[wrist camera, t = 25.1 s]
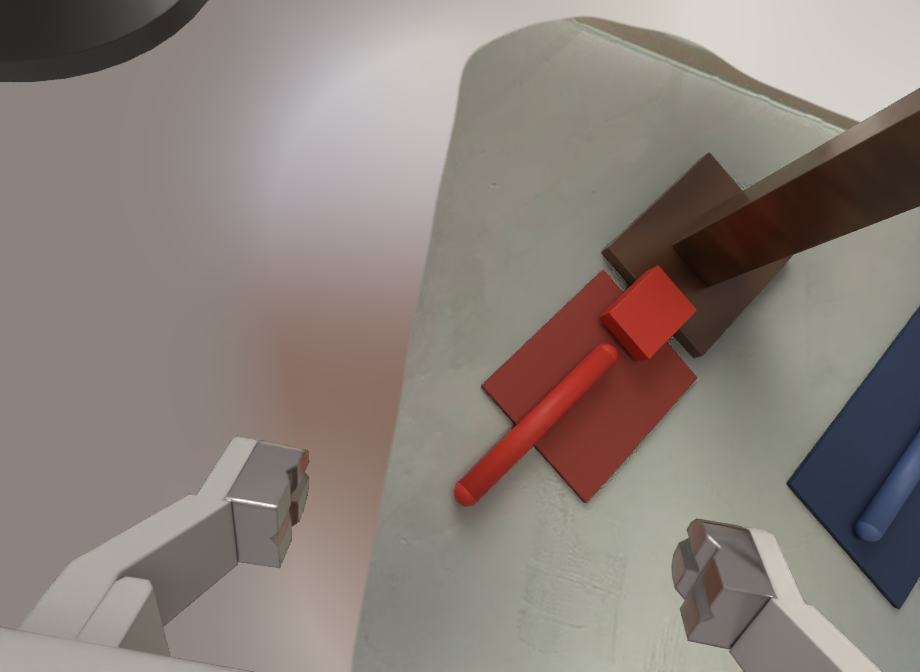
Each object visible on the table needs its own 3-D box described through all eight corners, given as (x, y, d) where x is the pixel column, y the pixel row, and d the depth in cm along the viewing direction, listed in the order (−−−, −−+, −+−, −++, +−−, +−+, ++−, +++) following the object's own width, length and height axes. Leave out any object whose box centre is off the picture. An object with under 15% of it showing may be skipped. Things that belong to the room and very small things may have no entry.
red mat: (480, 386, 36) (482, 385, 35) (601, 271, 39) (603, 269, 39) (584, 502, 36) (586, 503, 36) (694, 378, 40) (698, 377, 39)
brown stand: (600, 251, 39) (1079, -64, 15) (700, 158, 43) (1223, -225, 18) (693, 358, 40) (1316, 227, 15) (785, 256, 43) (1413, 13, 18)
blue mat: (786, 483, 40) (790, 484, 39) (930, 291, 46) (935, 290, 46) (894, 607, 40) (899, 609, 40) (1022, 400, 47) (1028, 399, 46)
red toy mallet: (476, 524, 34) (483, 529, 32) (432, 475, 34) (437, 478, 32) (683, 314, 39) (697, 310, 37) (645, 271, 39) (658, 264, 37)
